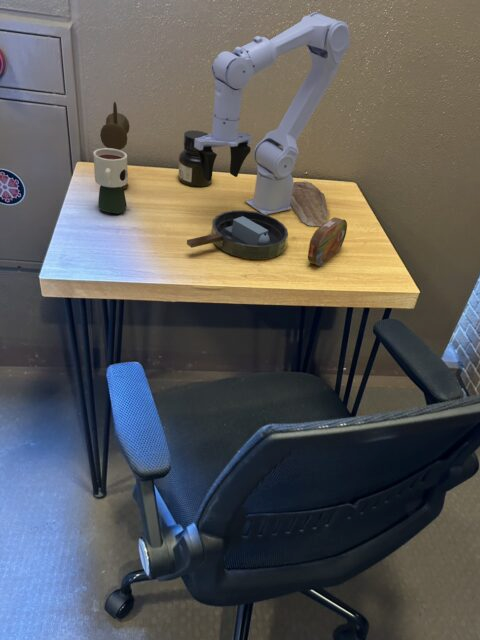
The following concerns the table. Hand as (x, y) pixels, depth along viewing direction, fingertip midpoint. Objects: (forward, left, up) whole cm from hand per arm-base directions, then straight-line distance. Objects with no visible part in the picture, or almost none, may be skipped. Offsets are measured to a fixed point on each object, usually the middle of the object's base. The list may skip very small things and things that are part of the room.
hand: (220, 177), depth 123 cm
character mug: (+22, -11, -10) cm, 26 cm away
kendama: (+15, -22, -10) cm, 28 cm away
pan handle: (+13, +14, -7) cm, 21 cm away
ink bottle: (-6, -19, -10) cm, 22 cm away
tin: (-11, +27, -10) cm, 31 cm away
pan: (+1, +14, -9) cm, 17 cm away
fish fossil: (-27, +4, -10) cm, 29 cm away
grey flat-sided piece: (+1, +14, -9) cm, 17 cm away
